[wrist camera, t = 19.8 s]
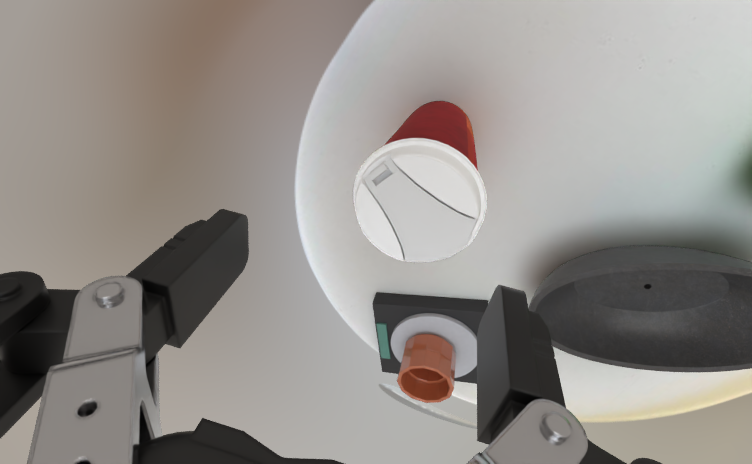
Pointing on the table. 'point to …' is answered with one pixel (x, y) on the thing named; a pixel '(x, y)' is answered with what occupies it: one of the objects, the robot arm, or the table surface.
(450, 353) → the small bowl
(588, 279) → the bowl
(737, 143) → the table surface
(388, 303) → the scale
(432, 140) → the coffee cup
